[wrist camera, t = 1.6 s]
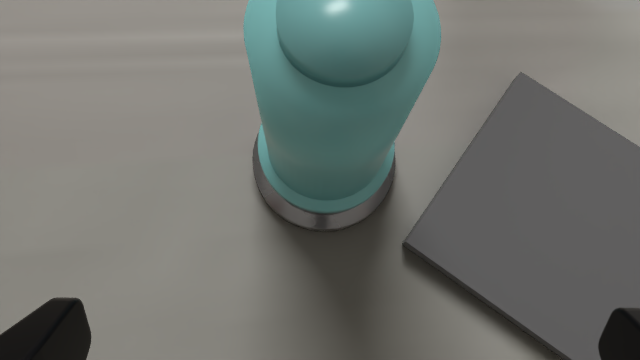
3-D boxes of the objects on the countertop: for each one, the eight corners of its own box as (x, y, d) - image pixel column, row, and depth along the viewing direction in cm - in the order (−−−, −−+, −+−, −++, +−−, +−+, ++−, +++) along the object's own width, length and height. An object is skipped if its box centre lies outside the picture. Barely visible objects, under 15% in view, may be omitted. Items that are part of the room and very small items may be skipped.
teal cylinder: (417, 135, 21) (509, -8, 12) (341, 240, 20) (376, 175, 10) (311, 63, 22) (318, -124, 12) (231, 161, 20) (171, 32, 11)
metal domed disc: (419, 148, 23) (430, 133, 21) (340, 260, 21) (343, 254, 19) (308, 73, 24) (309, 52, 22) (225, 176, 22) (217, 163, 20)
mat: (699, 197, 23) (713, 193, 22) (601, 386, 20) (613, 389, 20) (513, 79, 24) (520, 71, 23) (402, 244, 22) (405, 241, 21)
